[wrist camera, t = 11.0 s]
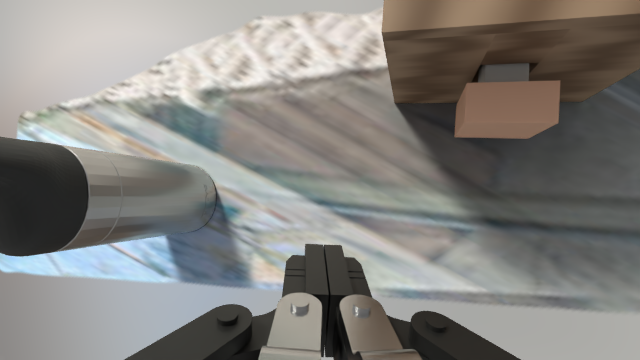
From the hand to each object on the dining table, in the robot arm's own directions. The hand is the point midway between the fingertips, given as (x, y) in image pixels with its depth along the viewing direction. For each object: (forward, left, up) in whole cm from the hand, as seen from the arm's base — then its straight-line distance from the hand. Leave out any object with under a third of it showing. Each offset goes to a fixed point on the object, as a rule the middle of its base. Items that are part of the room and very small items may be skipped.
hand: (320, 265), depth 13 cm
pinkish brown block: (+10, +14, -19) cm, 25 cm away
